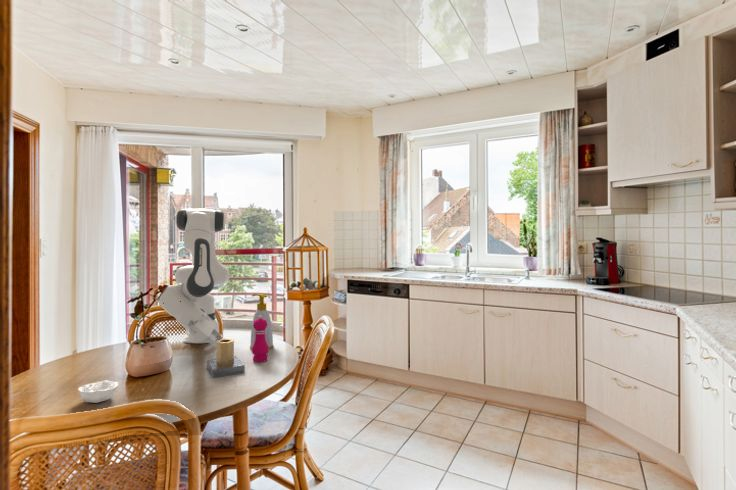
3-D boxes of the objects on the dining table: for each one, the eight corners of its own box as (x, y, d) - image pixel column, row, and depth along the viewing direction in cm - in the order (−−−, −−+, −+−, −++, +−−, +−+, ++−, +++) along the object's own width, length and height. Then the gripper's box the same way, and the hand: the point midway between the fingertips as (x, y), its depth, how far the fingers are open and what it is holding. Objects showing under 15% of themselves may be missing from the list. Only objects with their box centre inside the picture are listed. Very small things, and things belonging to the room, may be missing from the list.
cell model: (89, 394, 140) (89, 375, 140) (125, 394, 141) (125, 375, 140) (69, 407, 130) (69, 387, 130) (108, 407, 130) (108, 386, 130)
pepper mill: (264, 363, 174) (264, 317, 173) (248, 362, 175) (248, 316, 174) (271, 358, 181) (271, 313, 180) (256, 356, 182) (256, 313, 182)
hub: (218, 360, 168) (218, 339, 168) (234, 359, 169) (234, 338, 169) (215, 365, 162) (215, 343, 161) (232, 364, 163) (232, 342, 163)
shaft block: (206, 367, 168) (206, 345, 168) (236, 362, 175) (236, 341, 174) (213, 377, 156) (213, 355, 156) (244, 372, 163) (244, 350, 162)
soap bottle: (261, 343, 204) (261, 291, 203) (278, 346, 198) (278, 293, 197) (244, 348, 195) (244, 294, 194) (261, 352, 189) (261, 297, 188)
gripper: (193, 319, 152) (220, 343, 155) (203, 307, 172) (227, 329, 175) (180, 331, 152) (208, 355, 154) (192, 318, 172) (216, 340, 174)
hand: (218, 341), depth 165 cm, fingers open, 8 cm apart
